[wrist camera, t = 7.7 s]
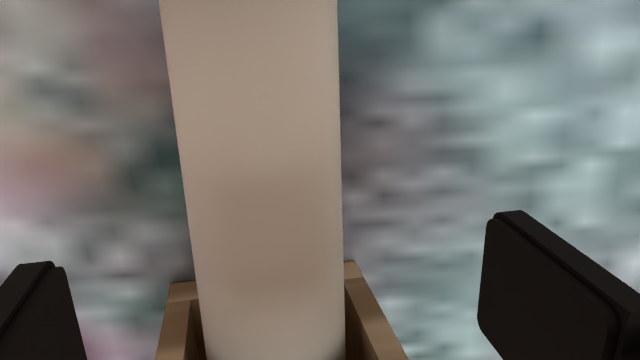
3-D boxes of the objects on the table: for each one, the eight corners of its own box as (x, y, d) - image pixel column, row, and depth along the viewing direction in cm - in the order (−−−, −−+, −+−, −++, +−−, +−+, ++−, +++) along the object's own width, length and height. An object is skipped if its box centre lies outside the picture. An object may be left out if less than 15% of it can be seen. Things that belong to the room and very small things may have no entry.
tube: (146, -115, 12) (104, -187, 8) (321, -113, 13) (368, -179, 9) (209, 365, 17) (205, 479, 13) (335, 346, 18) (370, 448, 14)
